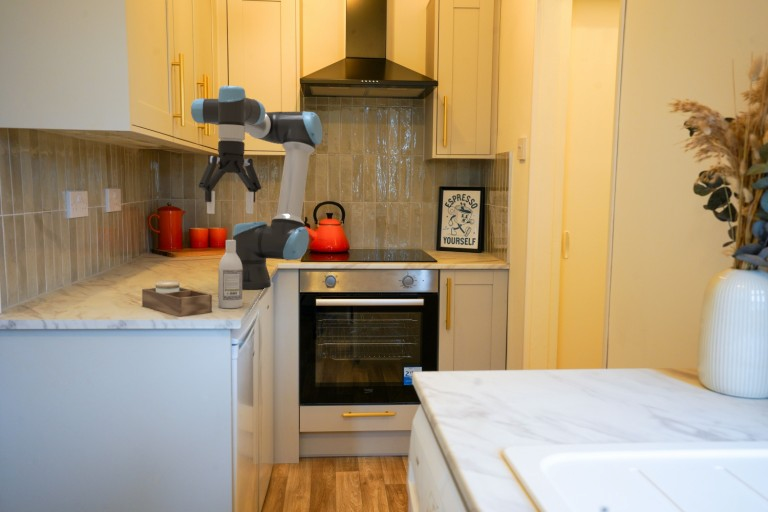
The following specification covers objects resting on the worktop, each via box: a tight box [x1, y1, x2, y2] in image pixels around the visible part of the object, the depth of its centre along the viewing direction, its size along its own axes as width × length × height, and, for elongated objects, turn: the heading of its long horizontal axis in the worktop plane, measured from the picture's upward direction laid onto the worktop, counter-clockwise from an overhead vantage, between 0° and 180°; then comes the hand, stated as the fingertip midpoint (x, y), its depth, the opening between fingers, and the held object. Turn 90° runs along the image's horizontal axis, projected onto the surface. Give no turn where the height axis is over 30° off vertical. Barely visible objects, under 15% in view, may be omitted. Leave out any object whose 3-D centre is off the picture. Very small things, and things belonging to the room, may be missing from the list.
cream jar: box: [154, 280, 181, 293], centre depth 194 cm, size 7×7×6 cm
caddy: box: [141, 287, 213, 317], centre depth 191 cm, size 10×20×5 cm, turn 48°
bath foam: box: [217, 239, 243, 310], centre depth 197 cm, size 7×7×20 cm
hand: (230, 213), depth 195 cm, fingers open, 13 cm apart
